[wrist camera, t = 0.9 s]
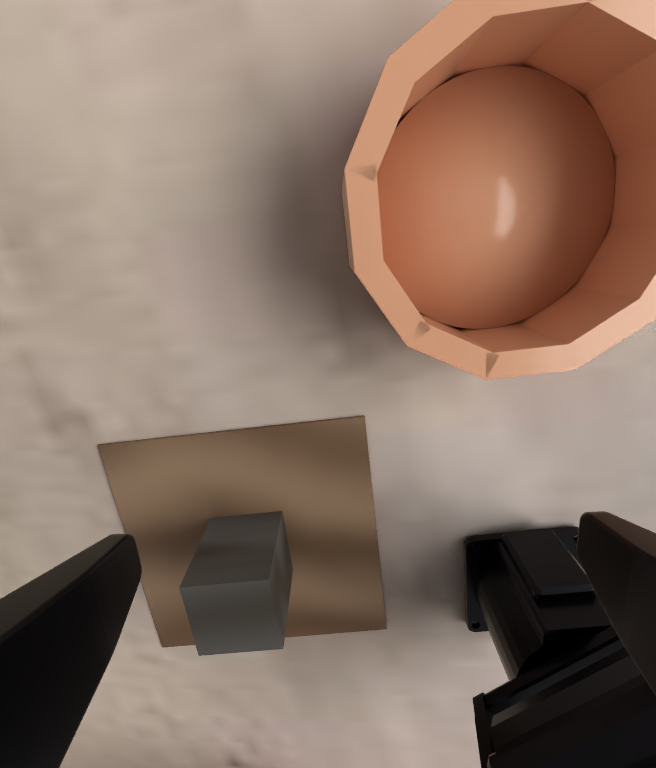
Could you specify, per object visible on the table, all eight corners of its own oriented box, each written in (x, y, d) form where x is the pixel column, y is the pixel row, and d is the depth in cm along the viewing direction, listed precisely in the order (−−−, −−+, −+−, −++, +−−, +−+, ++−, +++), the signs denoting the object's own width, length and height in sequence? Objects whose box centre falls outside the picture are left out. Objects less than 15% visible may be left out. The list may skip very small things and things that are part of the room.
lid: (385, 617, 26) (398, 716, 21) (167, 636, 27) (124, 736, 21) (363, 411, 22) (373, 465, 16) (105, 439, 23) (31, 501, 17)
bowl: (611, 330, 20) (699, 356, 15) (358, 359, 20) (366, 393, 16) (638, 24, 16) (765, -70, 11) (329, 70, 17) (327, -1, 12)
